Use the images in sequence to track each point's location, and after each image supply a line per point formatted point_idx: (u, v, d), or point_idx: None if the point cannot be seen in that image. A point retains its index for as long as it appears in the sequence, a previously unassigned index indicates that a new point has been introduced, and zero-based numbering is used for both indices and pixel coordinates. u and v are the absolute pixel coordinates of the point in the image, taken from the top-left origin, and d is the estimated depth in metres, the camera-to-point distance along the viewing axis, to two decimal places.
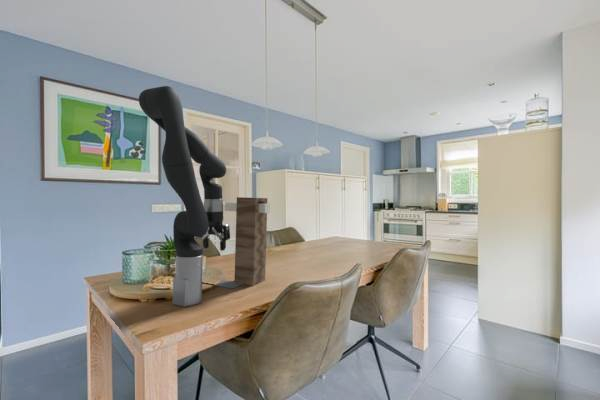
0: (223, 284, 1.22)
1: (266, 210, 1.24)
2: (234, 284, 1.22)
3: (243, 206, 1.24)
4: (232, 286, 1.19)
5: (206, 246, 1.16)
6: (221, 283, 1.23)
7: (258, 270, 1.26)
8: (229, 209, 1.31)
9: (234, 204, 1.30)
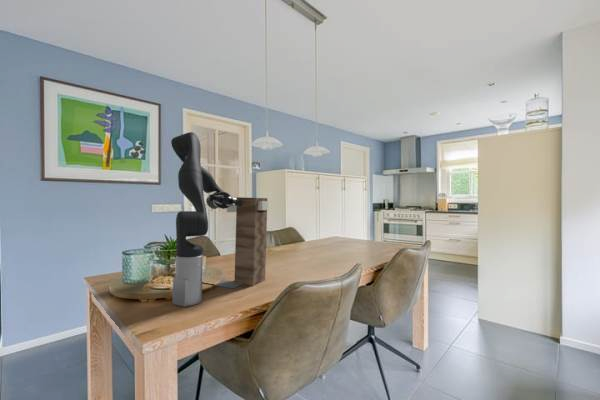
0: (223, 284, 1.22)
1: (264, 207, 1.24)
2: (234, 284, 1.22)
3: (243, 206, 1.24)
4: (232, 286, 1.19)
5: (219, 198, 1.12)
6: (221, 283, 1.23)
7: (258, 270, 1.26)
8: (231, 210, 1.33)
9: (235, 205, 1.31)
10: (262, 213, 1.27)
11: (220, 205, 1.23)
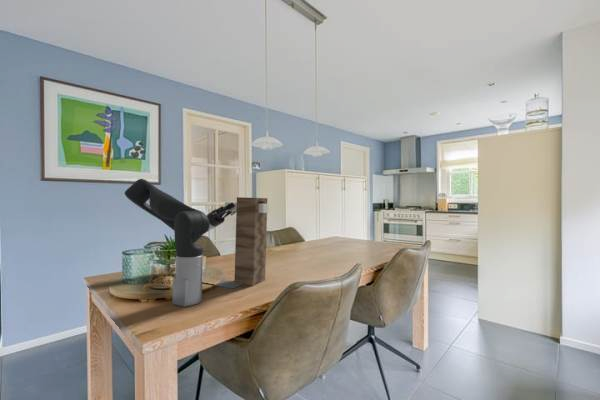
0: (223, 284, 1.22)
1: (264, 210, 1.24)
2: (234, 284, 1.22)
3: (243, 206, 1.24)
4: (232, 286, 1.19)
5: None
6: (221, 283, 1.23)
7: (258, 270, 1.26)
8: None
9: (234, 204, 1.30)
10: (262, 213, 1.27)
11: (219, 220, 1.35)
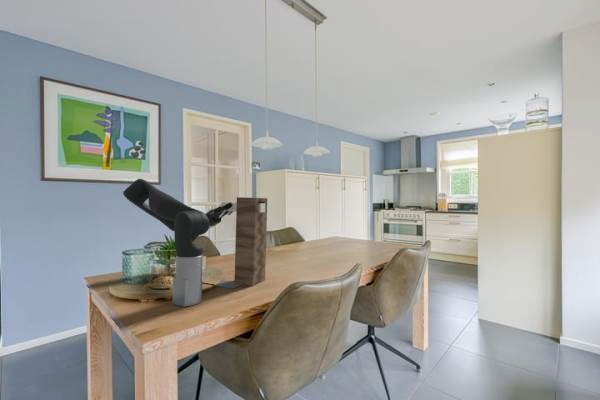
0: (223, 284, 1.22)
1: (262, 209, 1.25)
2: (234, 284, 1.22)
3: (243, 206, 1.24)
4: (232, 286, 1.19)
5: None
6: (221, 283, 1.23)
7: (258, 270, 1.26)
8: None
9: None
10: (262, 213, 1.27)
11: (216, 220, 1.35)
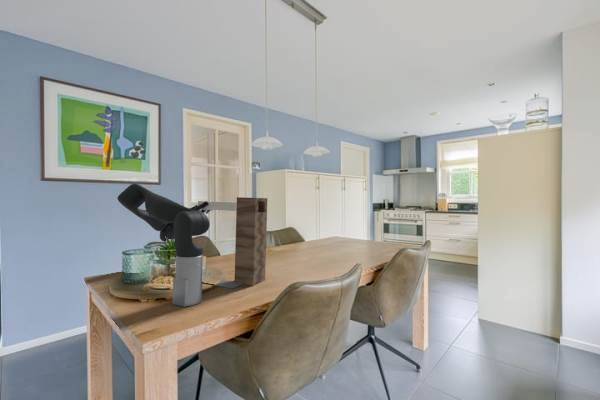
0: (223, 284, 1.22)
1: (235, 208, 1.31)
2: (234, 284, 1.22)
3: (243, 206, 1.24)
4: (232, 286, 1.19)
5: None
6: (221, 283, 1.23)
7: (258, 270, 1.26)
8: None
9: None
10: (262, 213, 1.27)
11: None
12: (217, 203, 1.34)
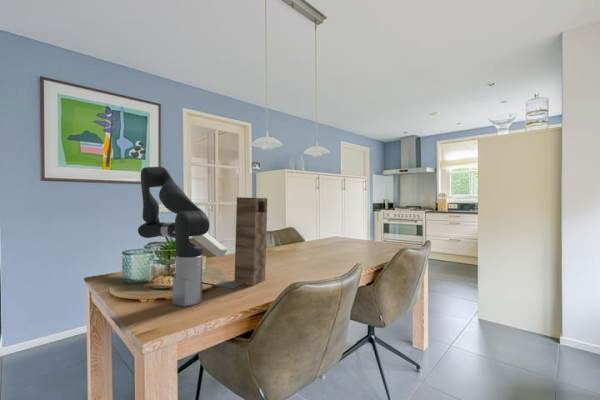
0: (223, 284, 1.22)
1: (221, 255, 1.25)
2: (234, 284, 1.22)
3: (243, 206, 1.24)
4: (232, 286, 1.19)
5: None
6: (221, 283, 1.23)
7: (258, 270, 1.26)
8: None
9: None
10: (262, 213, 1.27)
11: None
12: (205, 239, 1.27)
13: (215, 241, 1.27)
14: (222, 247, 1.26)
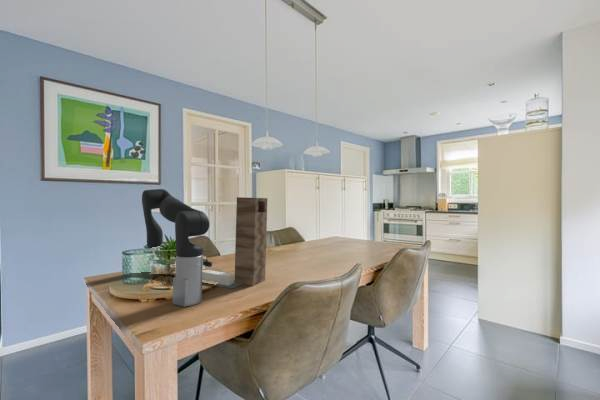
0: None
1: (230, 282, 1.21)
2: (234, 284, 1.22)
3: (243, 206, 1.24)
4: (232, 286, 1.19)
5: None
6: None
7: (258, 270, 1.26)
8: None
9: None
10: (262, 213, 1.27)
11: None
12: (210, 275, 1.24)
13: (220, 273, 1.25)
14: (228, 274, 1.23)
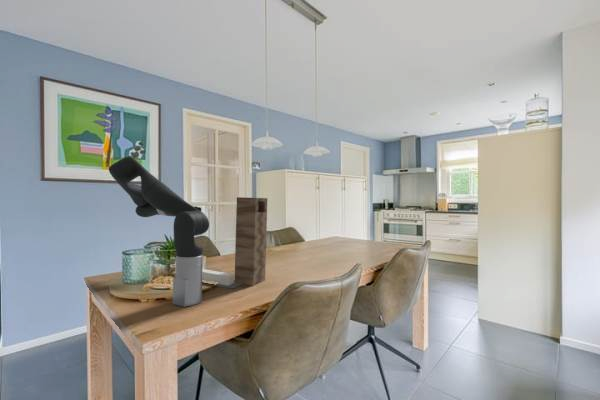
0: None
1: (230, 282, 1.21)
2: (234, 284, 1.22)
3: (243, 206, 1.24)
4: (232, 286, 1.19)
5: None
6: None
7: (258, 270, 1.26)
8: None
9: None
10: (262, 213, 1.27)
11: None
12: (210, 275, 1.24)
13: (220, 273, 1.25)
14: (228, 274, 1.23)
